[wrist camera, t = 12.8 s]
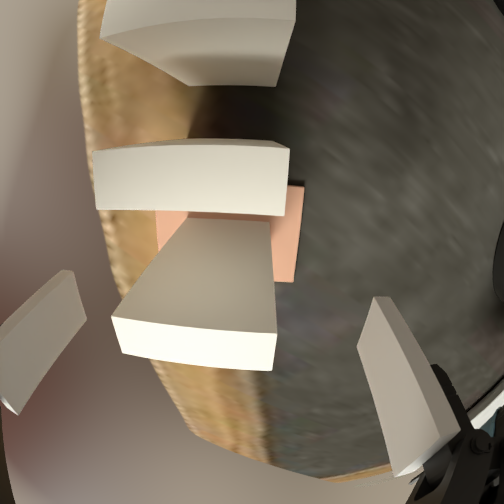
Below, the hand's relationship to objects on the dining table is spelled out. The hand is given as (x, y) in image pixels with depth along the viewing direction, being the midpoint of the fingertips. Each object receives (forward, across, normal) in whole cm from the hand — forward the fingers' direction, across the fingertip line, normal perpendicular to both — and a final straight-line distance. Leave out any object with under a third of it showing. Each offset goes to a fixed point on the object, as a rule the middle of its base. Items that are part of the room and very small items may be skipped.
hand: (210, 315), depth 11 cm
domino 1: (+9, +1, -11) cm, 15 cm away
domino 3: (+9, 0, 0) cm, 9 cm away
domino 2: (+9, +1, -6) cm, 11 cm away
